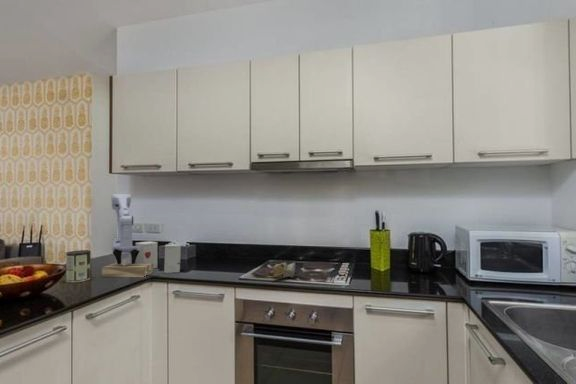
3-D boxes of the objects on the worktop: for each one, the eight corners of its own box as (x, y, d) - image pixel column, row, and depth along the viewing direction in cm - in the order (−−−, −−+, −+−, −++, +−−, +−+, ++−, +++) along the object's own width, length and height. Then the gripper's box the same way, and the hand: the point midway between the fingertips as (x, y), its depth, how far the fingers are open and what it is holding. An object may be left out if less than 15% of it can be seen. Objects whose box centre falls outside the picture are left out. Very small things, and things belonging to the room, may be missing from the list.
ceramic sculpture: (299, 261, 161) (270, 265, 156) (300, 278, 161) (271, 283, 155) (290, 257, 171) (263, 261, 165) (291, 274, 171) (264, 279, 165)
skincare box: (164, 273, 176) (164, 245, 176) (164, 271, 181) (164, 244, 182) (180, 272, 178) (180, 244, 178) (180, 270, 184) (180, 243, 184)
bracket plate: (126, 271, 175) (126, 256, 175) (130, 271, 175) (130, 256, 175) (122, 273, 171) (122, 258, 171) (125, 273, 171) (125, 258, 171)
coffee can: (79, 277, 169) (79, 249, 169) (95, 278, 166) (95, 250, 166) (60, 282, 159) (60, 252, 159) (77, 283, 156) (77, 253, 156)
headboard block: (113, 272, 179) (113, 263, 179) (152, 272, 178) (152, 263, 178) (101, 277, 168) (101, 267, 168) (143, 277, 167) (143, 267, 167)
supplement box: (143, 270, 183) (143, 243, 183) (134, 268, 188) (134, 242, 189) (158, 267, 190) (158, 242, 191) (149, 266, 196) (149, 240, 196)
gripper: (108, 239, 170) (108, 265, 169) (135, 239, 169) (135, 265, 169) (116, 237, 177) (116, 262, 176) (142, 237, 176) (142, 262, 176)
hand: (126, 263), depth 173 cm, fingers open, 7 cm apart
